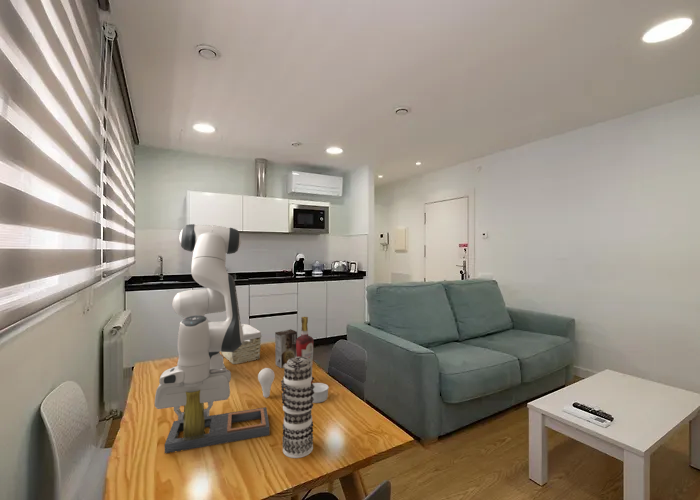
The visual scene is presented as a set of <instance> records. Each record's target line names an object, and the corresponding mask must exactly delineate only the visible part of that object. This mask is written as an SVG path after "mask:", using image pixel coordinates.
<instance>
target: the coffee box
mask: <svg viewBox="0 0 700 500" xmlns="http://www.w3.org/2000/svg"><path fill="white" fill-rule="evenodd" d="M274 332H275V331H274ZM274 335H275V338H274V339H275V340H274V341H275V342H274V343H275V346H274V347H275V352H274V353H275V366H277V367H279V368H280V369H284V366H283V365H284V364H285V363H287V361H288V360H289V359H291V358H293V357H297V355H296V339H297V338H298V331H296V330H294V329H290V328H289V329H286V330H281V331H280V330H279V331H276V332H275V334H274Z"/></svg>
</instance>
